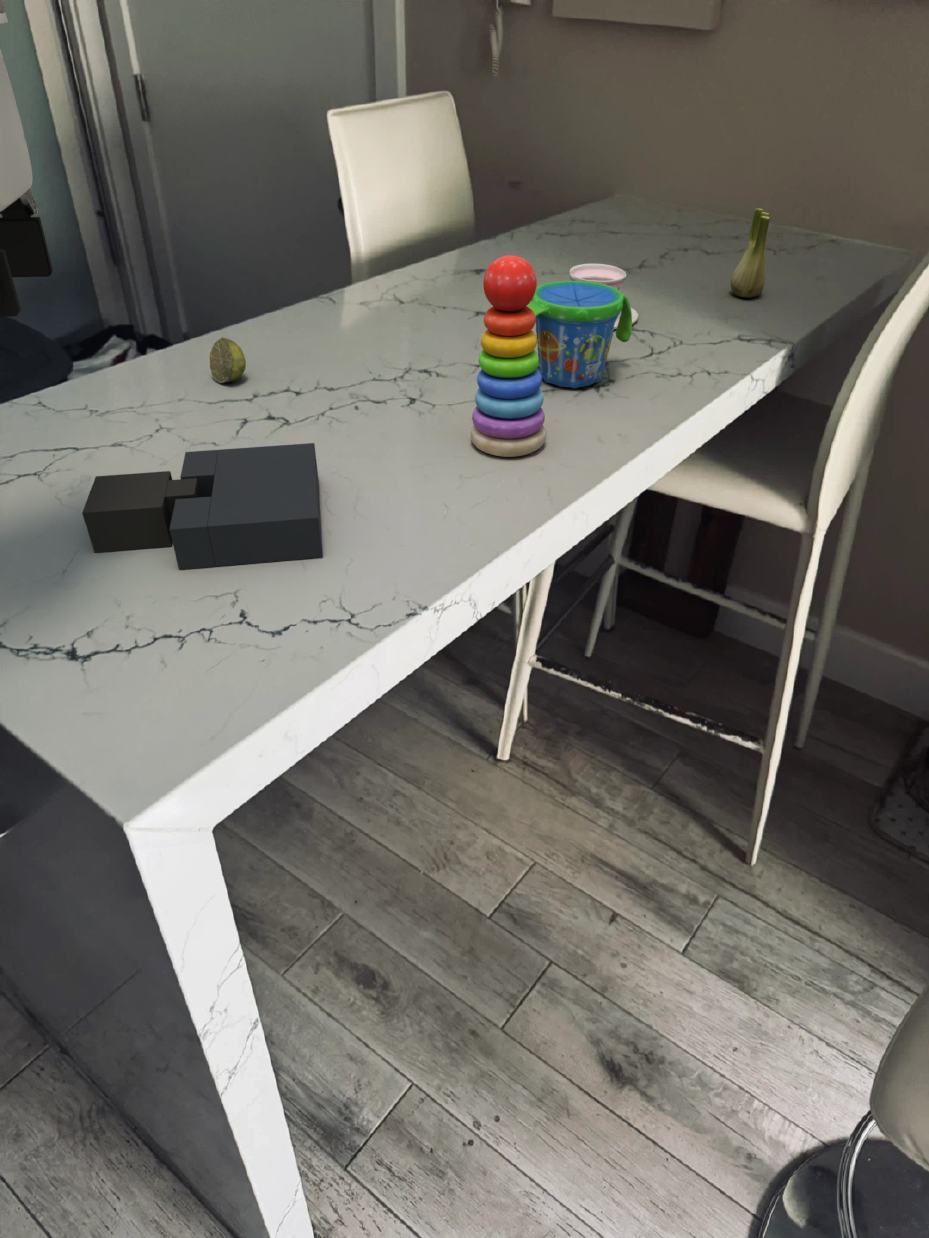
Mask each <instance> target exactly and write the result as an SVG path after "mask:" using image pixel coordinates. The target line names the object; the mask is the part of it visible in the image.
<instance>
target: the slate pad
mask: <svg viewBox="0 0 929 1238" xmlns="http://www.w3.org/2000/svg"><path fill="white" fill-rule="evenodd" d="M318 471H319V469H318V462H317V453H316V445H315V442H307V443H296V444H295V443H294V444H281V445H280V444H279V445H266V446H252V447H237V448H222V449H208V450H207V449H206V450H195V451H194V450H193V451H185V453H184V457H183V463H182V466H181V472H180V476H179V478H180V479H192V478H197V480H198V485H199V490H200V494H201V497H200V498H187V499H176V500H175V505H174V510H173V515H172V520H171V525H170V529H169V530H170V534H171V538H172V546H173V550H174V555H175V559H176V563H177V567H178V570H179V571H183V570H195V569H203V568H204V569H206V568H215V567H226V566H227V567H228V566H239V565H253V564H261V563H262V564H263V563H274V562H286V561H296V560H297V561H298V560H310V559H320V558H324V553H323V552H324V551H323V536H322V535H323V534H322V517H321V516H322V515H321V514H322V513H321V498H320V480H319V472H318Z"/></svg>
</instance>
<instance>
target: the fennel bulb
mask: <svg viewBox="0 0 929 1238" xmlns="http://www.w3.org/2000/svg"><path fill="white" fill-rule="evenodd" d="M770 220H771V214H770V213H768V212H765V210H764V209H763V208H760V207H759V208H756V207H755V209H754V213H753V216H752V221H751V227H750V232H749V238H748V241H747V243H746V244H747V245H746V248H745V251H744V253H743V254H742V257H741V259H740V261H739V263H738V264H737V266H736V267H735V269H734V271H733V273H732V276H731V278H730V289H731V291H732V293H733V294H734V295H735V296H737V297H740V298H754V297H758V296H760V295H761V294H762V293H763V290H764V287H765V283H766V279H767V278H766V277H767V276H766V275H767V274H766V272H767V270H766V269H767V267H766V256H765V254H766V253H765V247H766V241H767V234H768V230H769V225H770Z"/></svg>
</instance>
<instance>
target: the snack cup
mask: <svg viewBox="0 0 929 1238" xmlns="http://www.w3.org/2000/svg"><path fill="white" fill-rule="evenodd" d="M527 307H529V308H530V309H532V310H533V312H534V313H535V316H536V322H535V335H536V337H537V345H536V347H537V354H538V357H539V364H538V366H539V371H540V373H541V376H542V379H543V381H544V382H545V383H548V384H552V385H555V386H556V387H557V386H558V387H563V388H572V389H578V388H583V387H584V388H585V387H587V386H591V385H593V384H594V383H596V384H597V383H600V382H601V379H602V377H603V374H604V372H605V368H606V364H607V363H606V362H607V361H608V356H609V353H610V349H611V345H612V340H613V336H614V330H615V337H616V339H618V340H619V341H620V342H622V343H627V342H629V341H630V339H631V336H632V333H633V324H632V312H631V308H632V307H631V303H630V301H629V299H628V297H627V296H625V295H624V294H623V293H622V292H621V291H620V289H619V290H617V289H616V288H613V287H611V286H608V285H604V284H600V283H595V282H587V281H572V280H559V281H558V280H557V281H551V282H546V283H544V284H541V285H538V286H537V287H536V291H535V294H534V297H533V299H532V300H531V302H530V303H529V304H528V305H527ZM620 312H621V316H620V319H619V323H618V326H617V329H614V325H615V322H616V319H617V317H618V315H619V314H620Z"/></svg>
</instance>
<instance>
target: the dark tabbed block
mask: <svg viewBox="0 0 929 1238" xmlns="http://www.w3.org/2000/svg"><path fill="white" fill-rule="evenodd" d="M200 497H201V494H200V490H199V485H198V480H197V478H192V479H181V478H180V479H179V478H178V479H173V476H172V471H171V470H165V471H150V472H136V473H124V474H123V473H122V474H109V475H108V474H107V475H96V476H95V477H94V480H93V483H92V485H91V488H90V490H89V494H88V497H87V499H86V501H85V503H84V507H83V509H82V512H81V513H82V514H81V515H82V517H83V521H84V524H85V527H86V530H87V533H88V536H89V540H90V543H91V546H92V550H93V553H96V554H97V553H109V552H119V551H120V552H121V551H134V550H145V549H157V548H168V547H169V548H170V547H171V548H172V546H173V542H172V538H171V534H170V530H169V529H170V525H171V520H172V515H173V510H174V505H175V500H176V499H187V498H200Z"/></svg>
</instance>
